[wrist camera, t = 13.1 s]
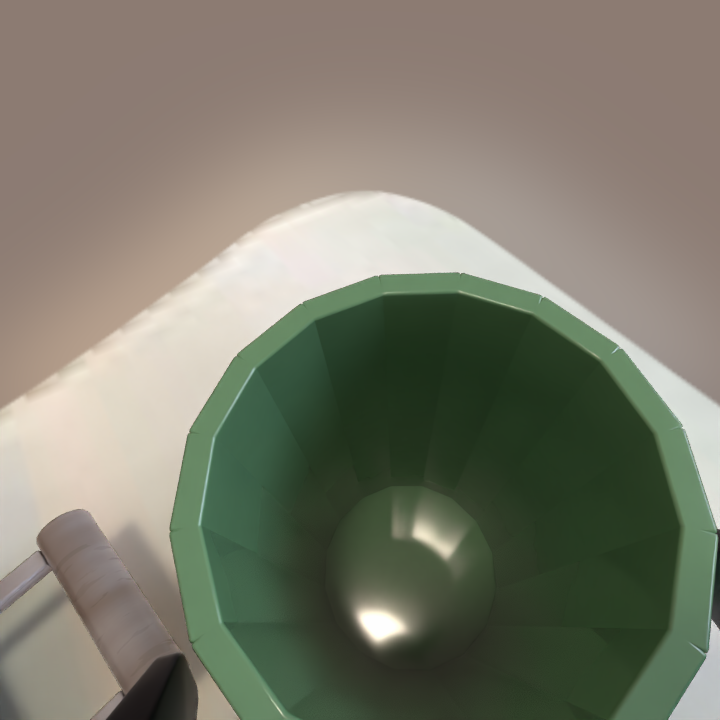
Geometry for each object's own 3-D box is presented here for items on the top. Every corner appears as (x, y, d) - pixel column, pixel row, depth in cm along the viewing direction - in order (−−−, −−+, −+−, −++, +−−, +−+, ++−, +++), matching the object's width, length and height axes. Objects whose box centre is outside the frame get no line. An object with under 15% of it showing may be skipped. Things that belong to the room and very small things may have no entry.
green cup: (413, 733, 15) (463, 1055, 4) (280, 571, 17) (77, 479, 6) (540, 573, 17) (820, 477, 6) (404, 447, 19) (415, 209, 8)
